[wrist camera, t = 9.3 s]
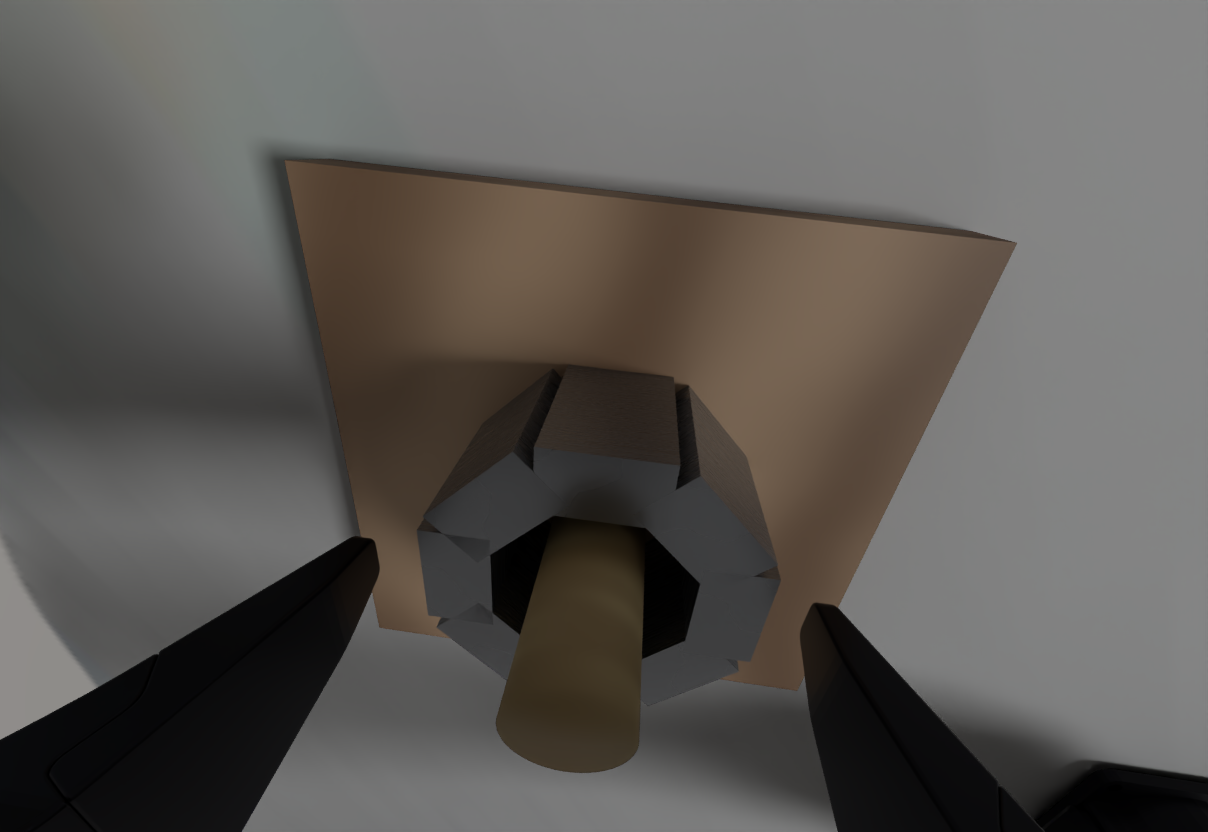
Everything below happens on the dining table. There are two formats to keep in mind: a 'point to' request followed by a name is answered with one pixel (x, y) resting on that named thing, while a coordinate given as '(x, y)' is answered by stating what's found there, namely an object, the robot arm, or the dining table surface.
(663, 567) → the ring
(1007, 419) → the dining table surface
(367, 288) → the post block
